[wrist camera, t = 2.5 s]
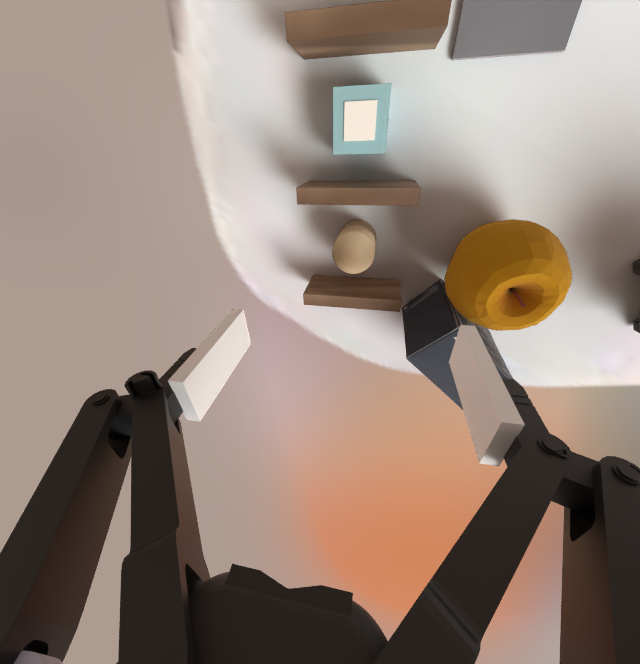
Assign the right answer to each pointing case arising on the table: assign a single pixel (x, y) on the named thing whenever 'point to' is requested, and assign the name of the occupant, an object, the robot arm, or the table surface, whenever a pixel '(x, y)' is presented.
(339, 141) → the letter cube
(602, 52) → the table surface
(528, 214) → the table surface
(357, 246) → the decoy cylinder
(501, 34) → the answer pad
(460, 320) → the small box
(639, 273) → the figurine
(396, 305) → the divider rack
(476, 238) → the apple
